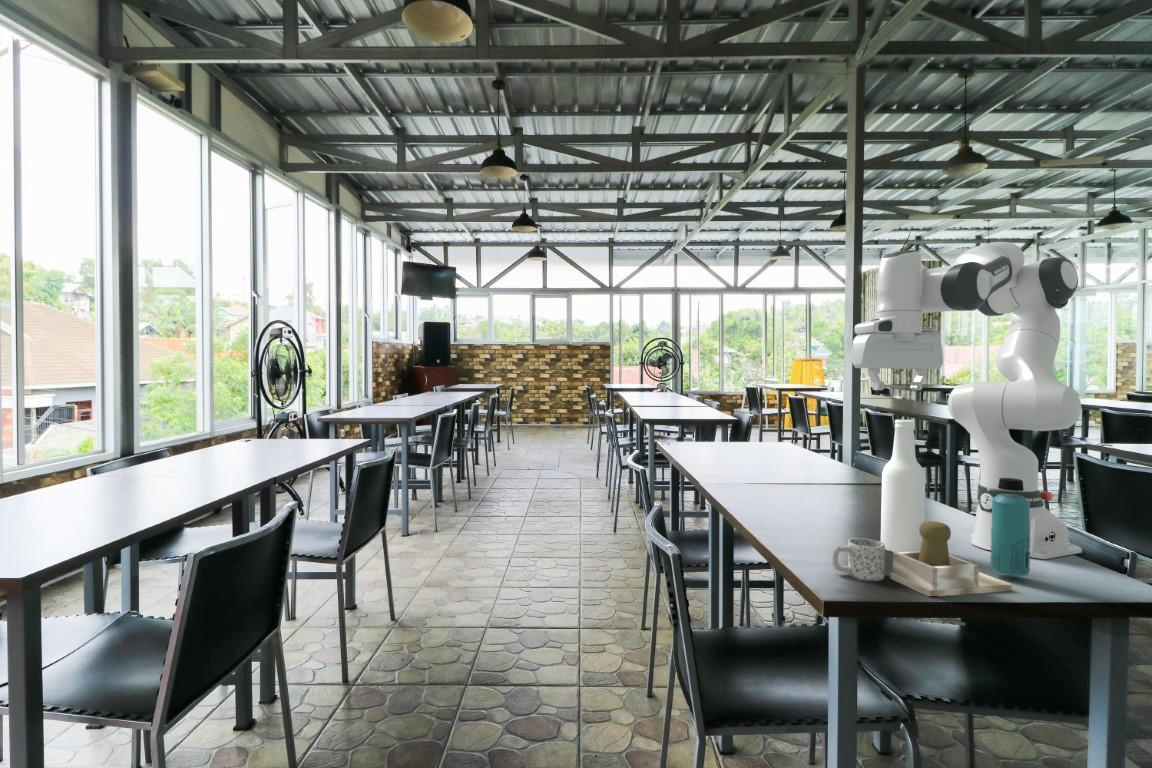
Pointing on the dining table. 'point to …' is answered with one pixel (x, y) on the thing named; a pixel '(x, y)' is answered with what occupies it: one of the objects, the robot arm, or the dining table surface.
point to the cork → (934, 543)
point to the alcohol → (902, 493)
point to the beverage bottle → (1010, 530)
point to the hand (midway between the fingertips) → (897, 390)
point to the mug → (862, 559)
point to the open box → (943, 576)
